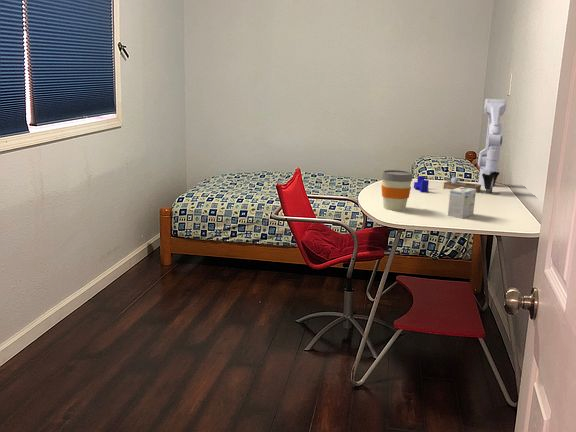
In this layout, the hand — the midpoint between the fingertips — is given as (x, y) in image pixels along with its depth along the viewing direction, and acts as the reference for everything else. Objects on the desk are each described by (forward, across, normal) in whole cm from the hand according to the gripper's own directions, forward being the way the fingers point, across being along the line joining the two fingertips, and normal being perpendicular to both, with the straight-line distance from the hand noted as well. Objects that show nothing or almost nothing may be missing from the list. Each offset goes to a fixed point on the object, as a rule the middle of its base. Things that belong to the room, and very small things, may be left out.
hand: (489, 187), depth 312 cm
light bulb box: (+3, +58, +3) cm, 58 cm away
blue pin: (+3, 0, -17) cm, 17 cm away
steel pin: (+2, 0, 0) cm, 2 cm away
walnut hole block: (+3, 0, -13) cm, 13 cm away
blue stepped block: (+3, +16, -29) cm, 33 cm away
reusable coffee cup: (+3, +64, -23) cm, 68 cm away
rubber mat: (+3, 0, +1) cm, 3 cm away
